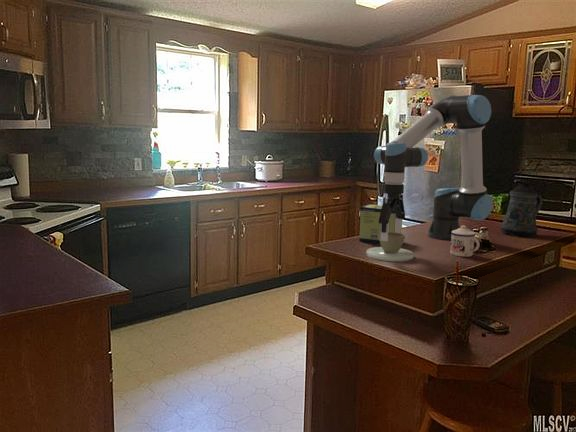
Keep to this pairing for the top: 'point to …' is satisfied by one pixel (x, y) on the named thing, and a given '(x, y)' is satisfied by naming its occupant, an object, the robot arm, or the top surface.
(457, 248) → the teacup with lid
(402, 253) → the dish
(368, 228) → the protein box
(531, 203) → the beer stein
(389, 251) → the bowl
